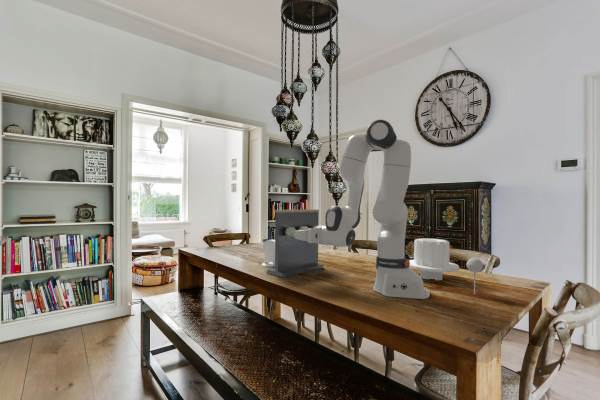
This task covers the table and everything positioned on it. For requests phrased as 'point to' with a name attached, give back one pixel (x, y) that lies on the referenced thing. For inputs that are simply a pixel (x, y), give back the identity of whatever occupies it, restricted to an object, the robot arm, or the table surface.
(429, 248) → the white brimmed cylinder
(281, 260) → the button panel
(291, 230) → the sage button
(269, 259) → the metal pitcher
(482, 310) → the table surface
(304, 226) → the cream button
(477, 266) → the lollipop
